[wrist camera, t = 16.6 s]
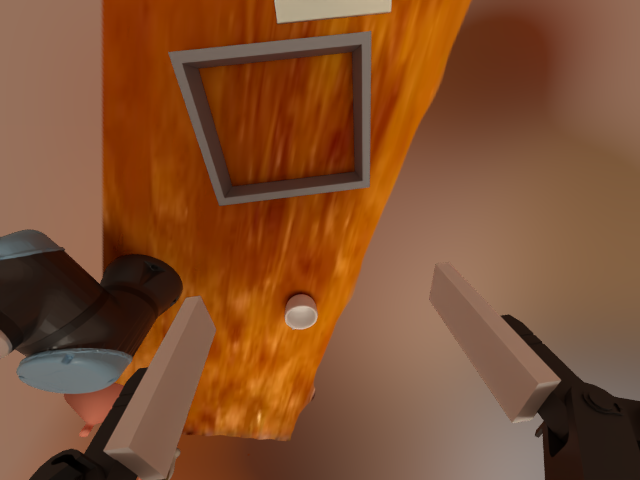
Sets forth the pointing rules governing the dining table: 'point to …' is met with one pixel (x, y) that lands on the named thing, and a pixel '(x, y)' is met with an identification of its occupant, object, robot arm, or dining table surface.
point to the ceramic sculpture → (172, 465)
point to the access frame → (268, 51)
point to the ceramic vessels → (94, 405)
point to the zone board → (327, 9)
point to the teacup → (300, 312)
